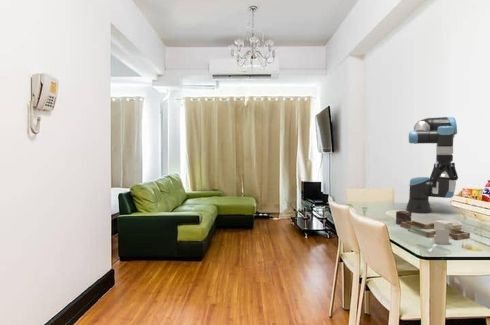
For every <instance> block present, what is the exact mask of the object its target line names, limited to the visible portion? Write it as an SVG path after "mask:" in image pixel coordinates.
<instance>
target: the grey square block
mask: <svg viewBox="0 0 490 325" xmlns="http://www.w3.org/2000/svg"><path fill="white" fill-rule="evenodd" d="M435 231H436V234H434V237H433V243H434V244H436V245H450V239H451V240H453V239H452V238H451V237H450V236H449V230H444V229H436V230H435Z"/></svg>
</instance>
